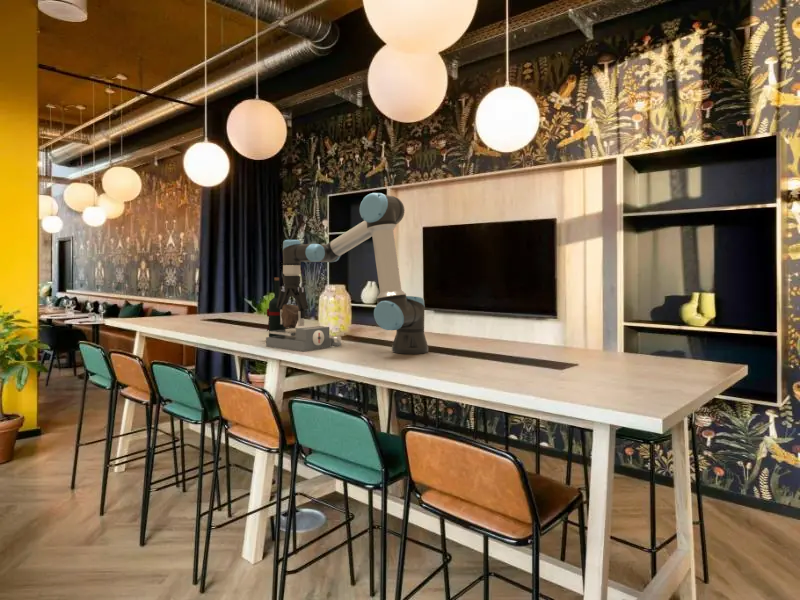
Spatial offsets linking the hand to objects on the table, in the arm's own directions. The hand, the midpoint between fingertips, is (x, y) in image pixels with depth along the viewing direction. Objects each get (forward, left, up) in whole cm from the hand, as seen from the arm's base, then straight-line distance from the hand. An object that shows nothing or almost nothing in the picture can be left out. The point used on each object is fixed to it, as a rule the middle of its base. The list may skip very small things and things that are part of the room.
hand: (292, 324), depth 239 cm
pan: (0, 0, -5) cm, 5 cm away
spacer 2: (-14, -13, -9) cm, 21 cm away
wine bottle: (+17, -5, -10) cm, 20 cm away
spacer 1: (-8, -13, -9) cm, 18 cm away
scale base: (-4, 0, -9) cm, 10 cm away
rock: (+1, 0, -2) cm, 2 cm away
